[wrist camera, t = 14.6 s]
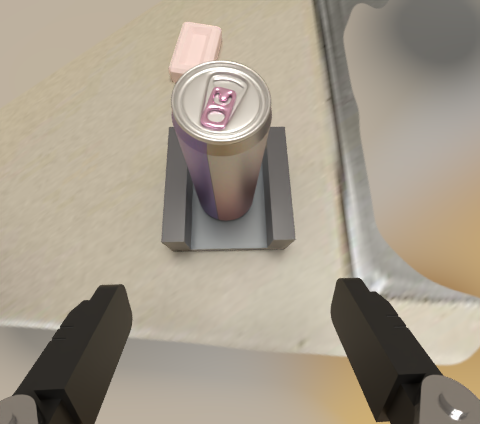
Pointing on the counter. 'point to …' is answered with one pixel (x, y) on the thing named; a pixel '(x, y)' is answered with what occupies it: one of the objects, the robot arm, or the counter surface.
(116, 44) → the counter surface
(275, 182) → the duct channel
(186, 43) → the soap bar
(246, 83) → the beverage can
